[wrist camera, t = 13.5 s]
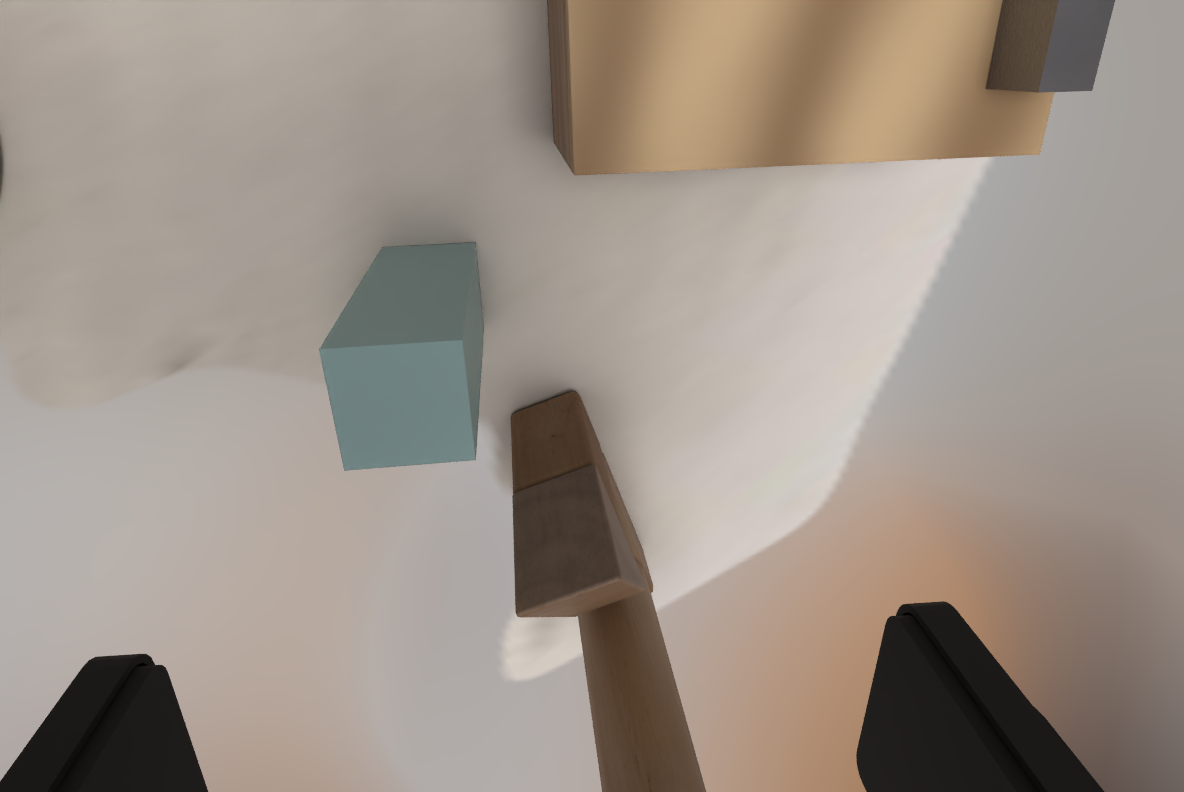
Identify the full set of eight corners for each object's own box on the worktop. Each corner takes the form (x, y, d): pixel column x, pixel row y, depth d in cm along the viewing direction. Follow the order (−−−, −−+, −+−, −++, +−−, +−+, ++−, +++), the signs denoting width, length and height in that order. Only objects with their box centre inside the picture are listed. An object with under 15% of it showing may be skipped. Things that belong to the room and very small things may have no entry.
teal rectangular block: (382, 247, 31) (319, 349, 20) (475, 242, 31) (462, 340, 21) (395, 333, 33) (344, 470, 22) (483, 328, 33) (475, 460, 22)
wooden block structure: (577, 386, 35) (642, 670, 19) (643, 549, 40) (742, 889, 23) (506, 412, 35) (511, 716, 19) (581, 572, 40) (636, 924, 24)
